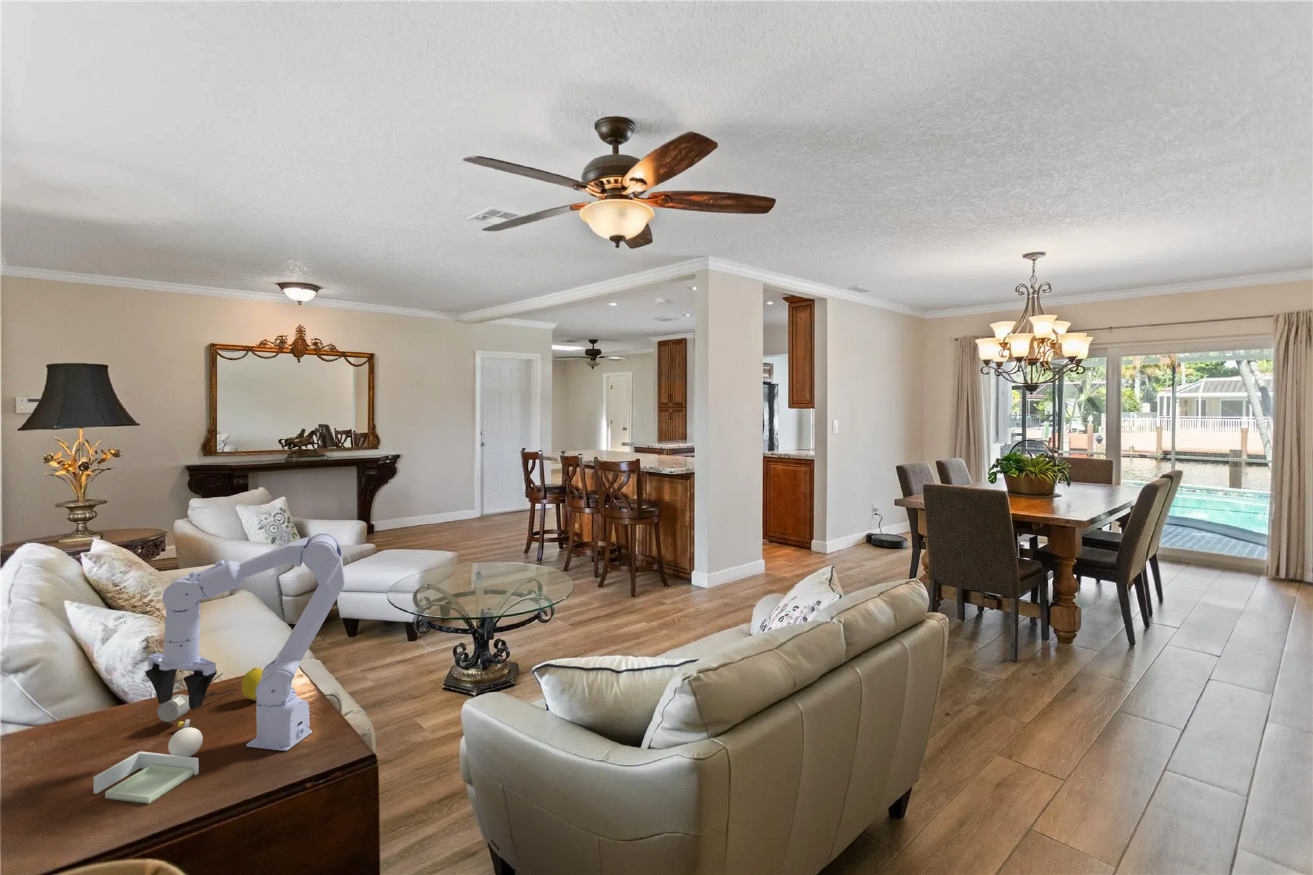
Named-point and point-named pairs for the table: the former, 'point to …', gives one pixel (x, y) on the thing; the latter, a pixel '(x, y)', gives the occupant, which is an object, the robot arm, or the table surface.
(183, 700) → the reed diffuser
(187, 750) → the ball
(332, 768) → the table surface
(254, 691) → the lemon
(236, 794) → the table surface
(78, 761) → the table surface
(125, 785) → the resting spot
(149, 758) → the acrylic walls
